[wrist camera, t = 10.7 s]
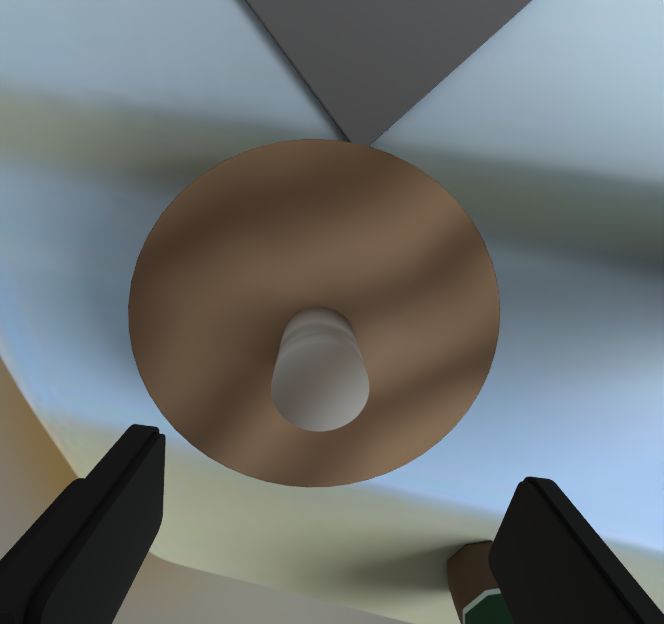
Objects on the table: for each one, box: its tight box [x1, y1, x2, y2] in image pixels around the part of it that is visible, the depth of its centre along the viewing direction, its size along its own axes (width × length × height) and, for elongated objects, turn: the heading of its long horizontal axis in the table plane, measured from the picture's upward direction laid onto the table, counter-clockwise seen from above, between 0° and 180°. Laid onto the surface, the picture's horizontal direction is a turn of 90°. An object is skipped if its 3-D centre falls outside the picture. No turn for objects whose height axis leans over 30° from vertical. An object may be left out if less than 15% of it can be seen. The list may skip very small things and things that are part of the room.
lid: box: [128, 139, 500, 487], centre depth 17 cm, size 20×20×6 cm
